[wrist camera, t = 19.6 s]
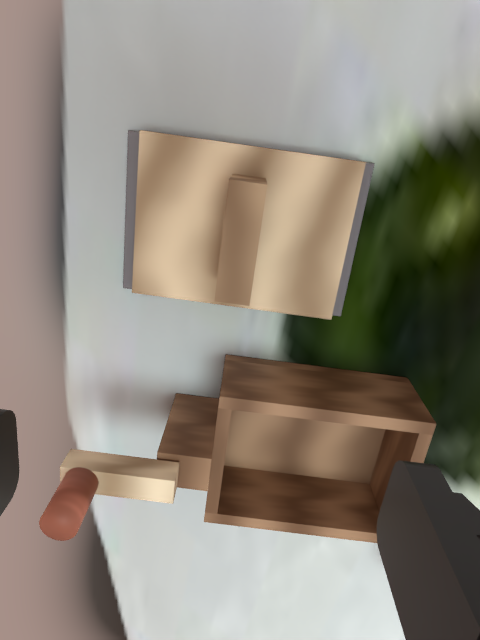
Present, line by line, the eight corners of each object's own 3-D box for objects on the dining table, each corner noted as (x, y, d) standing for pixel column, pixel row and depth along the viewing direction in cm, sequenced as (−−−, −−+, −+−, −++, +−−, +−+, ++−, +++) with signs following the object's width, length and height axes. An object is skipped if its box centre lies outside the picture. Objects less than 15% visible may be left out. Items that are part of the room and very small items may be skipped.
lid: (362, 161, 33) (384, 166, 28) (329, 314, 38) (342, 345, 32) (143, 130, 33) (119, 128, 27) (135, 287, 38) (113, 315, 32)
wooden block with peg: (179, 460, 34) (164, 524, 28) (177, 486, 35) (161, 552, 29) (70, 446, 34) (33, 508, 28) (71, 472, 34) (35, 537, 29)
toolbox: (407, 377, 40) (443, 435, 32) (375, 485, 45) (400, 559, 37) (179, 348, 40) (161, 399, 32) (170, 460, 44) (152, 529, 36)
